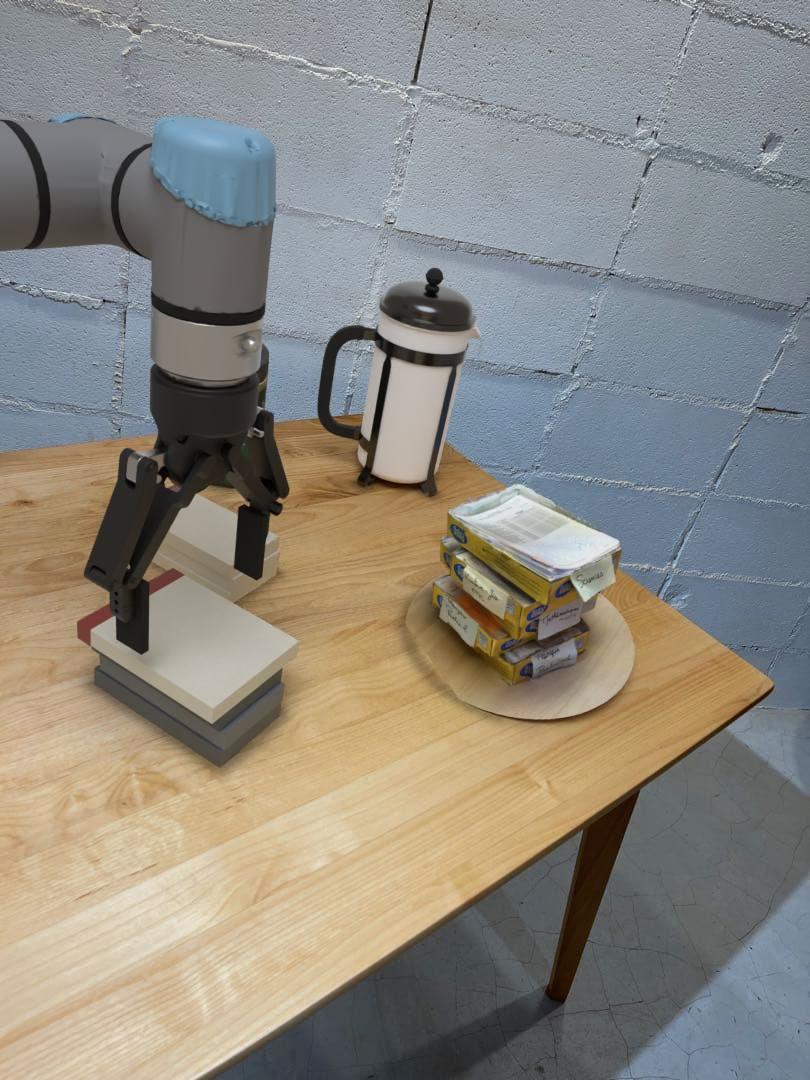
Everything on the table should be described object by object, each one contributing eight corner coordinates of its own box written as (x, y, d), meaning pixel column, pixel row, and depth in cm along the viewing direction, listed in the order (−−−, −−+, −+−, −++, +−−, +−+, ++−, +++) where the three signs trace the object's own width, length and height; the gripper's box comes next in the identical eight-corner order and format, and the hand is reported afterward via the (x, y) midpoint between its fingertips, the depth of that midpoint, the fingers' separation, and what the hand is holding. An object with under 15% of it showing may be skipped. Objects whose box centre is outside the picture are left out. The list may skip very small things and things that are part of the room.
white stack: (123, 547, 92) (123, 507, 89) (175, 521, 98) (177, 483, 96) (229, 608, 87) (232, 567, 84) (277, 576, 93) (282, 537, 90)
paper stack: (467, 746, 76) (512, 606, 67) (372, 588, 94) (397, 461, 86) (669, 704, 87) (730, 578, 78) (547, 569, 105) (586, 454, 96)
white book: (77, 638, 69) (76, 621, 68) (172, 583, 78) (172, 567, 77) (211, 725, 64) (212, 708, 63) (297, 655, 73) (300, 640, 72)
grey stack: (92, 686, 74) (90, 630, 70) (158, 643, 80) (160, 590, 77) (219, 771, 69) (224, 715, 65) (280, 718, 75) (287, 664, 71)
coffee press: (393, 440, 128) (430, 246, 113) (465, 487, 120) (517, 283, 104) (305, 461, 117) (333, 249, 101) (378, 515, 108) (421, 292, 93)
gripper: (103, 436, 46) (109, 707, 57) (349, 348, 65) (318, 564, 77) (14, 391, 49) (36, 659, 60) (276, 320, 68) (256, 532, 79)
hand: (194, 606), depth 68 cm, fingers open, 13 cm apart
